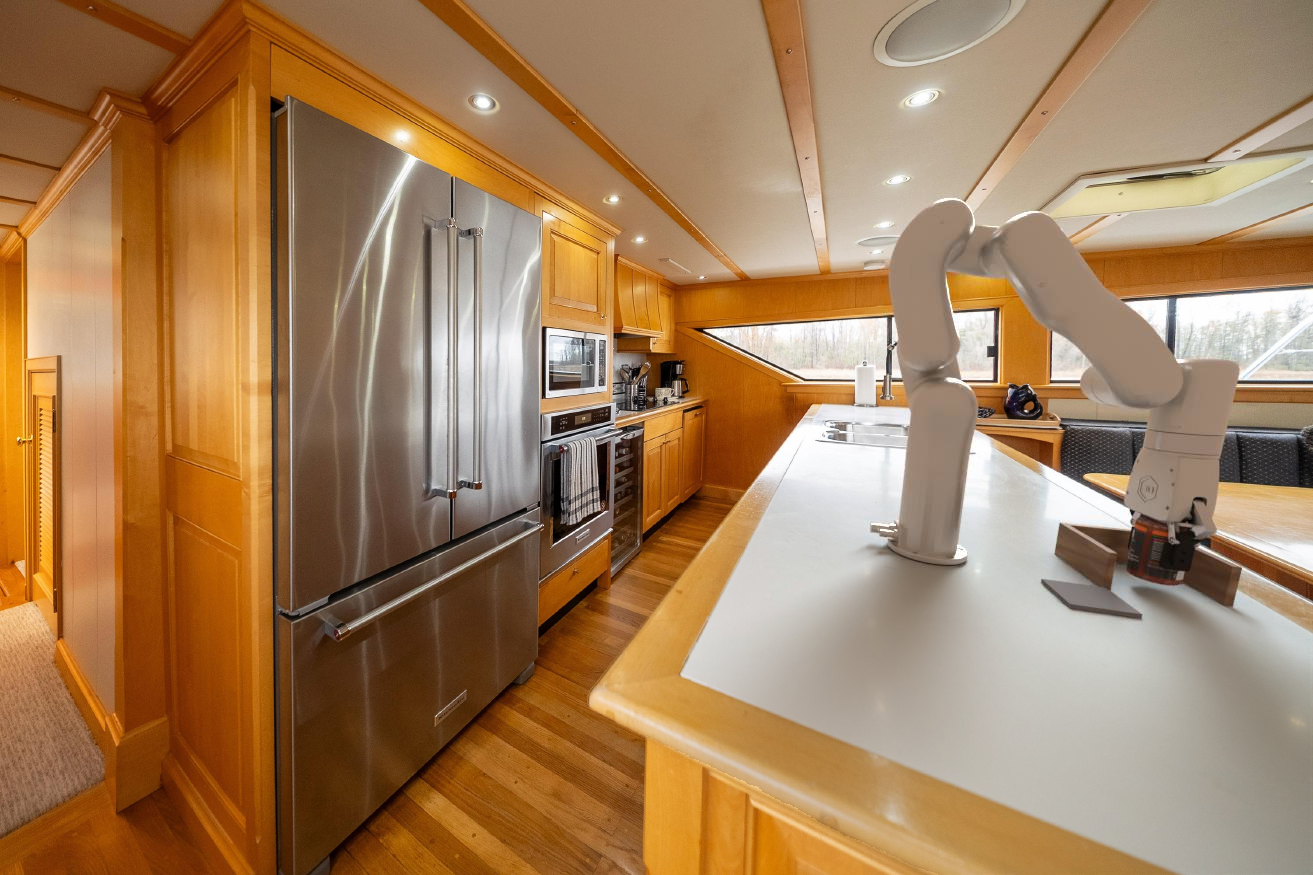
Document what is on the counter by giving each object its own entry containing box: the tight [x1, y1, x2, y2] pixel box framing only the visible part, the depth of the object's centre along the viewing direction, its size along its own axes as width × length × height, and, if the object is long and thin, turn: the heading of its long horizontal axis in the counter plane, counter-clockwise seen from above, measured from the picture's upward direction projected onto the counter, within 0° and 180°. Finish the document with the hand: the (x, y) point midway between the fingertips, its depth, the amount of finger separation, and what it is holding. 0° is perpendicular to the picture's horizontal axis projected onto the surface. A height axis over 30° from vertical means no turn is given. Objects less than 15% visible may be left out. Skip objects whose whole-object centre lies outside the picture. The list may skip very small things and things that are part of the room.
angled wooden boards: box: [1054, 522, 1243, 608], centre depth 73 cm, size 15×14×6 cm
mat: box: [1040, 578, 1143, 619], centre depth 66 cm, size 8×8×1 cm
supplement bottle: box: [1125, 515, 1187, 587], centre depth 68 cm, size 6×6×11 cm
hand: (1156, 559), depth 68 cm, fingers closed on supplement bottle, 5 cm apart
